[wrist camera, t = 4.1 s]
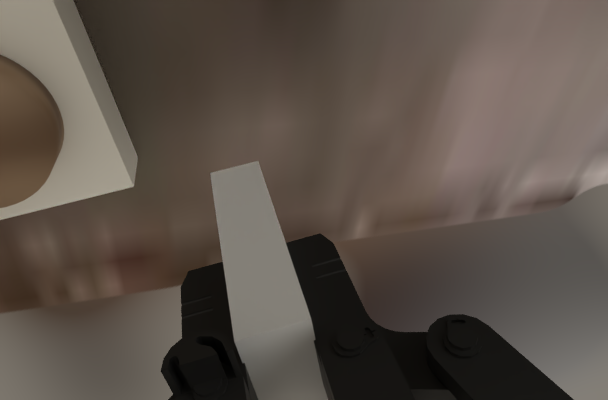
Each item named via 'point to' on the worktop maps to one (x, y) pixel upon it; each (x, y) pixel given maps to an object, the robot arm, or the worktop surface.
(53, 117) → the walnut coaster
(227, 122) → the worktop surface
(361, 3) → the worktop surface
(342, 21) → the worktop surface
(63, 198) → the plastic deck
